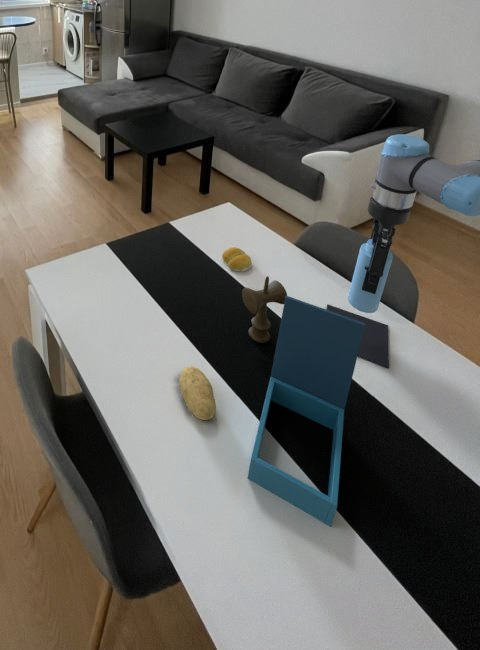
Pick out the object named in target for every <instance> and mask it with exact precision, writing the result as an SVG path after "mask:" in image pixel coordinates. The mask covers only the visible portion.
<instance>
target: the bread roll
mask: <svg viewBox="0 0 480 650" xmlns="http://www.w3.org/2000/svg"><path fill="white" fill-rule="evenodd" d="M221 258H222V261H223V262H224V264H226V265H227V267H228V268H229V269H231V271H234V272H247V271H248V270H250V268H252V264H253V263H252V262H253V261H252V259H251V257H250V256H249V255H248V254H247V253H246V252H245V251H244V250H243V249H241V248H240V247H229V248H228V249H225V250H223V252H222V255H221Z"/></svg>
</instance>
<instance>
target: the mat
mask: <svg viewBox="0 0 480 650" xmlns="http://www.w3.org/2000/svg"><path fill="white" fill-rule="evenodd" d="M326 305H327V306H326V310H329V311H332V312H334V313H337V314H340V315H343V316H346V317H349V318H351V319H354V320H357V321H360V322H363V323H365V327H364V331H363V335H362V339H361V343H360V348H359V352H358V356H357V358H359V359H362V360H365V361H367V362H370V363H373V364H375V365H378V366H381V367H383V368H385V369H387V370H388V369H390V353H389V352H390V351H389V349H390V347H389V325H388V324H385V323H383V322H380V321H378V320H374V319H371V318H369V317H366V316H363V315H360V314H357V313H354V312H351V311H349V310H345V309H342V308H340V307H336V306H334V305H331V304H326Z"/></svg>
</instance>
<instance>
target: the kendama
mask: <svg viewBox="0 0 480 650" xmlns="http://www.w3.org/2000/svg"><path fill="white" fill-rule="evenodd" d="M286 296H288V293H287V290H286V288H285V287H284V285H283V284H282V283H281V282H279V280H273V281H271V282H270V277H269V276H268V275H266V277H265V280H264V285H263V289H259V290H256V289H255V290H254V289H252V288H249V287H244V288H243V289H242V291H241V298H242V301H243V304H244V306H245V308H246V309H247V310H248V312H250V313H251V314H253V315H255V316H254V317H252V318H251V319H250V321H251V325H252V326H251V327H249V329H248V335H249V337H250V339H252V340H253V341H254V342H256V343H258V344H264V343H265V344H266V343H267V342H269V341H270V339H271V335H270V333H269V331H268V330H270V328H271V322H270V321H269V319H268V307H267V306H268V304H269V303H276V304H280V305H284V302H285V297H286Z"/></svg>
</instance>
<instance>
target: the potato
mask: <svg viewBox="0 0 480 650" xmlns="http://www.w3.org/2000/svg"><path fill="white" fill-rule="evenodd" d="M179 389H180V393H181V396H182V397H183V400H184V402H185V405H186V407H187V408H188V410H189V411H190V412H191V413H192V414H193V416H194V417H196V418H198V419H199V420H201V421H209V420H210V419H212V418H213V417H215V414H216V411H217V405H216V399H215V395H214V391H213V386H212V384H211V381H210V380H209V378H207V375H205V373H204V372H203V371H202V370H201V369H199V368H198V367H196V366H192V365H191V366H187V367H184V368H183V369H182V371H181V372H180V375H179Z"/></svg>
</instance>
